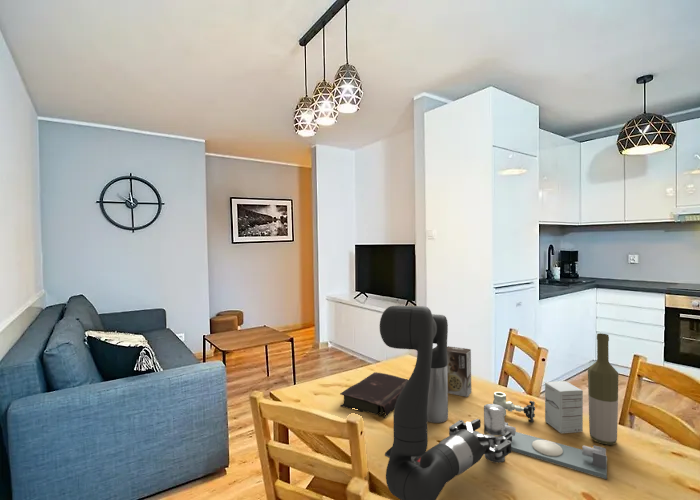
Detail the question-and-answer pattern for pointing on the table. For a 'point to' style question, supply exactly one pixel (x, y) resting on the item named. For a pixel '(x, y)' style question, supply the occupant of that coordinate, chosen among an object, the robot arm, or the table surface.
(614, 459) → the table surface
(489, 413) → the sleeve
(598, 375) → the bottle
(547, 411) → the supplement box
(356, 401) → the diary
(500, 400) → the valve
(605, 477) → the shaft bench
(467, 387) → the coffee box
